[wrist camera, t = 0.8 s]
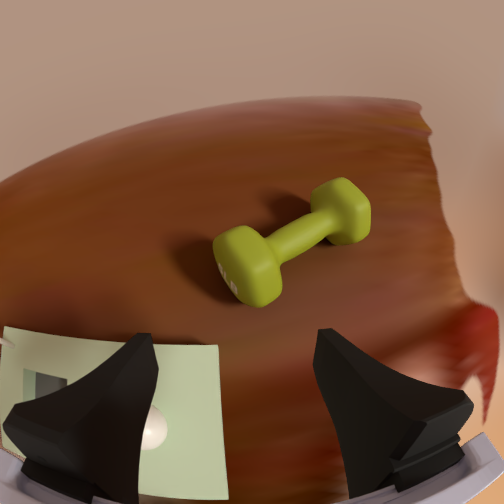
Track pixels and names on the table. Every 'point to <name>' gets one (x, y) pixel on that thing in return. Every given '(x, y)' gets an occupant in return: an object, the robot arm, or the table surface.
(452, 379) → the table surface
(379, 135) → the table surface
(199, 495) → the pale green box
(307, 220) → the dumbbell
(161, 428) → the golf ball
